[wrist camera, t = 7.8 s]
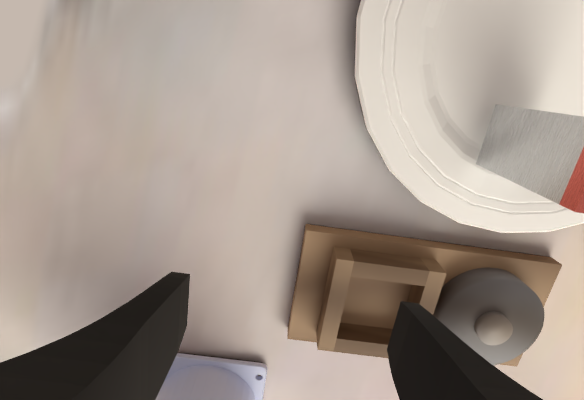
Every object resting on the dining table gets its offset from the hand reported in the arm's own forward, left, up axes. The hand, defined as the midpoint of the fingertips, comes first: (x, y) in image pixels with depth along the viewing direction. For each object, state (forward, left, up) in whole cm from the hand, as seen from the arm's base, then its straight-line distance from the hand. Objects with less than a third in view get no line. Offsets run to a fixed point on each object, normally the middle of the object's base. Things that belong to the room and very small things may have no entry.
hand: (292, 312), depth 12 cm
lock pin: (+6, -11, -9) cm, 15 cm away
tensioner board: (-5, -9, -10) cm, 15 cm away
